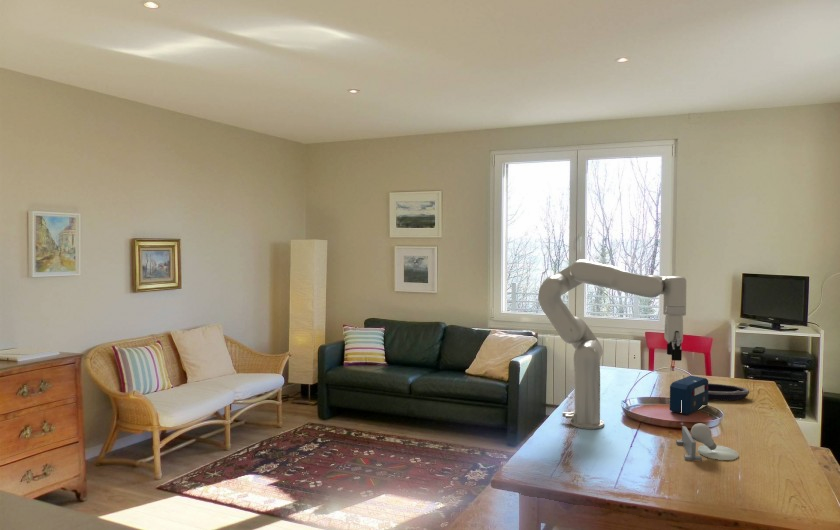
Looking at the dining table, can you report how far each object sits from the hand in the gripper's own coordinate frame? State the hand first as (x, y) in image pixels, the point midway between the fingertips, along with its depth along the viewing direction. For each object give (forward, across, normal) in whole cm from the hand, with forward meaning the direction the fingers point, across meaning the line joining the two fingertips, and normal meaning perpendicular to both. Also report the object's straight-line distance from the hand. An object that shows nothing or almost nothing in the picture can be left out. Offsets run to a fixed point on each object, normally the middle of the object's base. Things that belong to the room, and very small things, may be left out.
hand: (674, 357), depth 214 cm
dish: (+29, -55, +25) cm, 67 cm away
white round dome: (+28, +17, +11) cm, 35 cm away
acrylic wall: (+28, +17, +2) cm, 33 cm away
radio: (+29, -33, +12) cm, 45 cm away
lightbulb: (+27, +17, +10) cm, 33 cm away
